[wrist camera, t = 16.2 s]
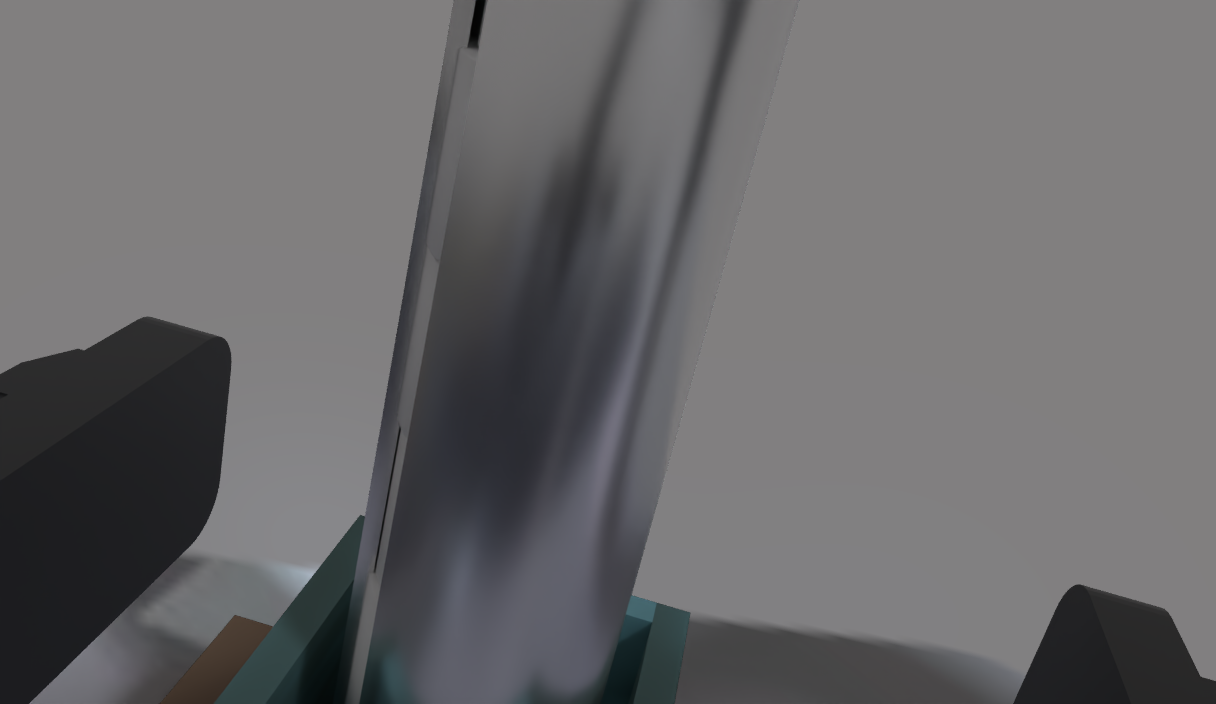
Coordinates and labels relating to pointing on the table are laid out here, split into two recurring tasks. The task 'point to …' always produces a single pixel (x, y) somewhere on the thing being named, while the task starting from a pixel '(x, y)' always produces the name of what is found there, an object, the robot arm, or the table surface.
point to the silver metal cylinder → (550, 337)
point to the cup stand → (314, 634)
